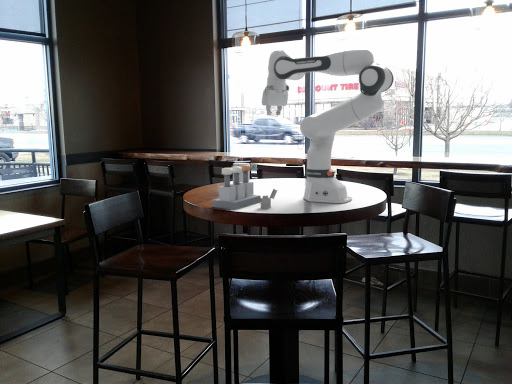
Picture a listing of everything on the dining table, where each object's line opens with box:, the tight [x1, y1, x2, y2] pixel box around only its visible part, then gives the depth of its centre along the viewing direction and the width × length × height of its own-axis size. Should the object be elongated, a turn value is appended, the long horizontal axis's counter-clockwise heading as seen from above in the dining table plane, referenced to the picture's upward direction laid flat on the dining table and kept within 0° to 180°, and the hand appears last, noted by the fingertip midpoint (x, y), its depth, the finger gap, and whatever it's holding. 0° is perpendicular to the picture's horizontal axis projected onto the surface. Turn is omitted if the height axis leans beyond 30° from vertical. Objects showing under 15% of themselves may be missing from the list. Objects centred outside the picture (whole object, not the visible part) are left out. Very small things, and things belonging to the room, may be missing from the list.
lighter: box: [260, 188, 278, 209], centre depth 188 cm, size 7×2×8 cm, turn 105°
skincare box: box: [232, 162, 251, 184], centre depth 233 cm, size 8×6×15 cm
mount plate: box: [211, 181, 262, 211], centre depth 196 cm, size 12×20×9 cm, turn 147°
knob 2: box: [241, 164, 251, 183], centre depth 201 cm, size 4×4×9 cm
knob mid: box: [230, 166, 242, 185], centre depth 195 cm, size 4×4×9 cm
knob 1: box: [221, 167, 233, 187], centre depth 189 cm, size 4×4×9 cm
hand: (273, 115), depth 215 cm, fingers open, 8 cm apart
